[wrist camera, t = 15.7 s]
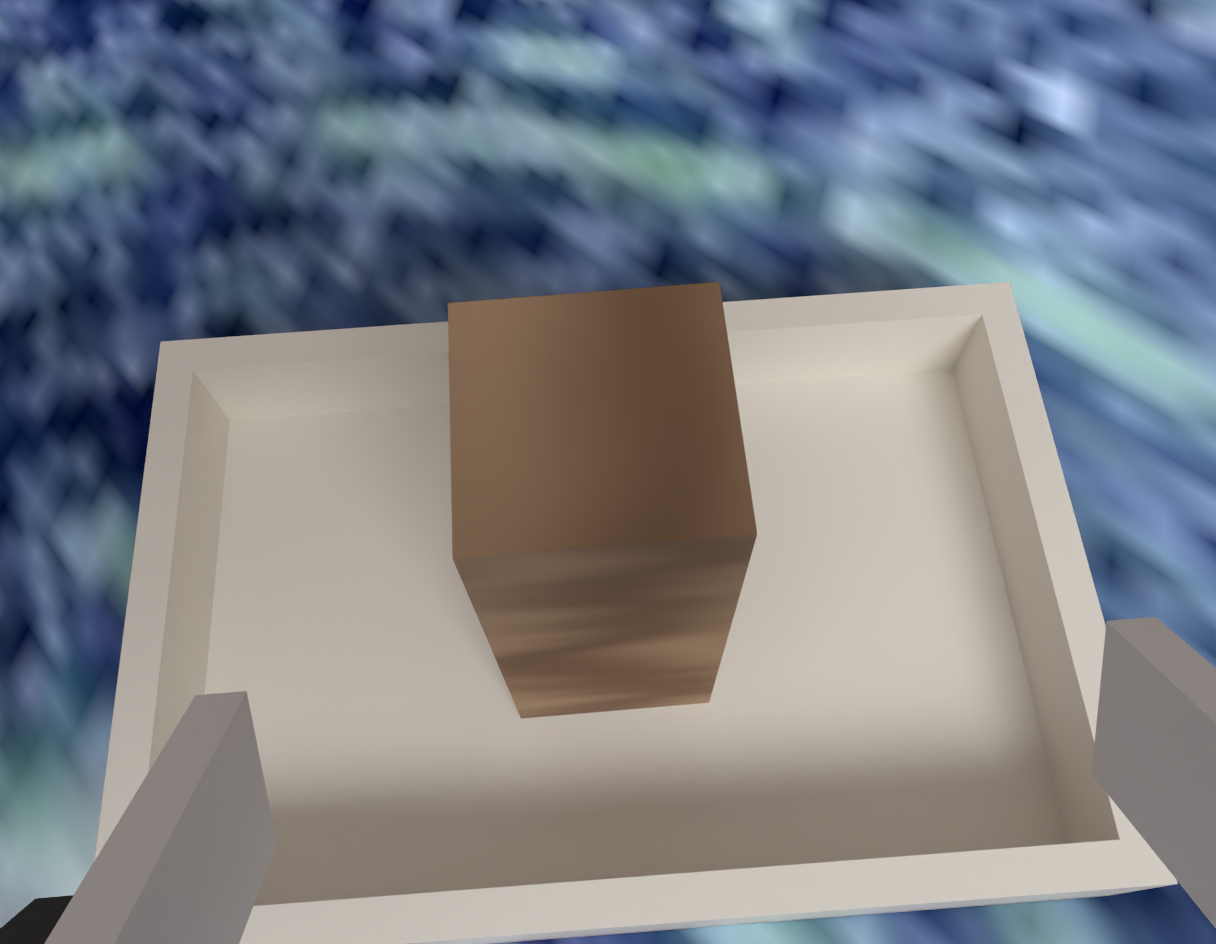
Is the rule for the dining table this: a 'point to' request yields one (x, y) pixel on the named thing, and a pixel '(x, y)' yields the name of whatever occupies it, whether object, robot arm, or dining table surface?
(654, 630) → the walnut block
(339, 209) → the dining table surface
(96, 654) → the dining table surface
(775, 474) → the sorting tray
